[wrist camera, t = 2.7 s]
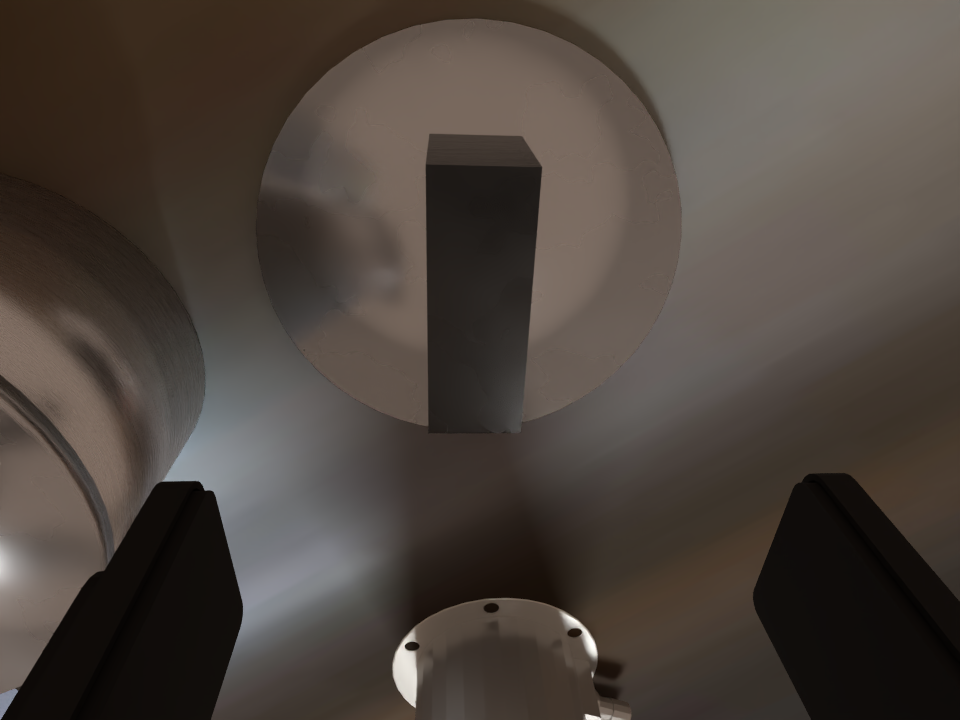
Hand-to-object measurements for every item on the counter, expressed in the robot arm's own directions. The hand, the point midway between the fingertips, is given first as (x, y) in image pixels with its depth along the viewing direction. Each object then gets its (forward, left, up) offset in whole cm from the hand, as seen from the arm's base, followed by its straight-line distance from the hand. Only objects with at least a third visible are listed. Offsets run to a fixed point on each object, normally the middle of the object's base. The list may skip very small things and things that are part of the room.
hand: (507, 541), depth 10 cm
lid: (0, 0, -16) cm, 16 cm away
